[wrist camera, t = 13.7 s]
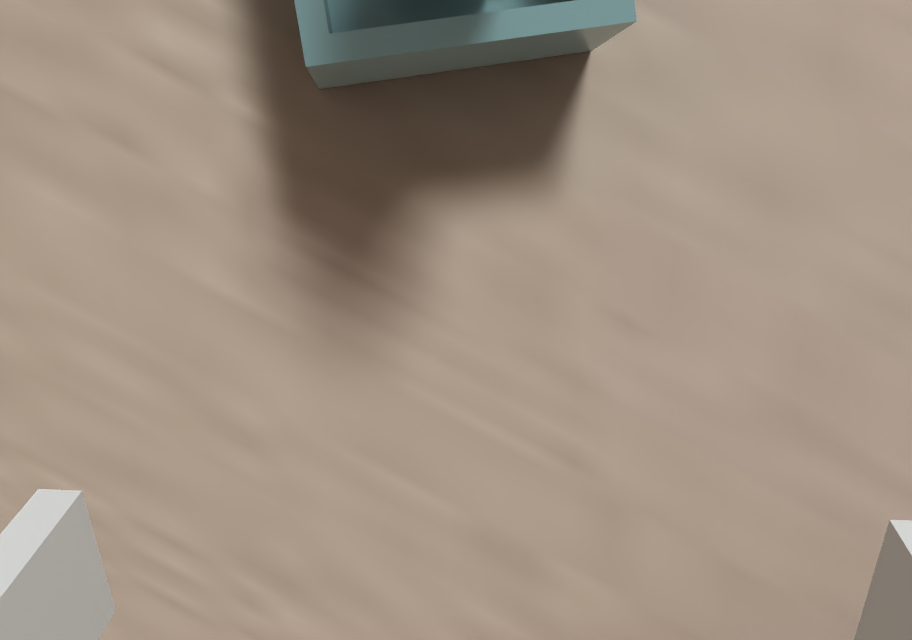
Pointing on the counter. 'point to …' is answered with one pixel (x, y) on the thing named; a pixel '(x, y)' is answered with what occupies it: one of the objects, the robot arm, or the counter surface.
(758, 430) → the counter surface
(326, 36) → the teal storage bin
